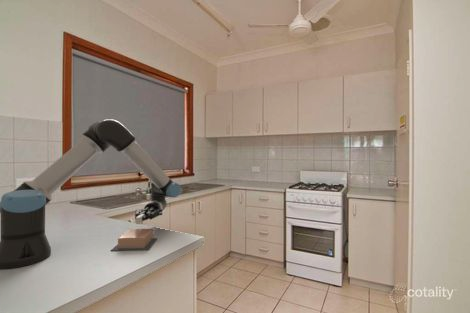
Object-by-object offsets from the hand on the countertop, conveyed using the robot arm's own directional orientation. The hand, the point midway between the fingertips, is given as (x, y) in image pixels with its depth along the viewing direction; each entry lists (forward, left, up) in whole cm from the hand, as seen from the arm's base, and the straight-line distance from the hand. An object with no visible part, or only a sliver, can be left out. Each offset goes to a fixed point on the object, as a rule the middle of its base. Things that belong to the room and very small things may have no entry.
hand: (137, 220), depth 100 cm
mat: (-3, 0, -9) cm, 9 cm away
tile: (+5, 0, -7) cm, 8 cm away
